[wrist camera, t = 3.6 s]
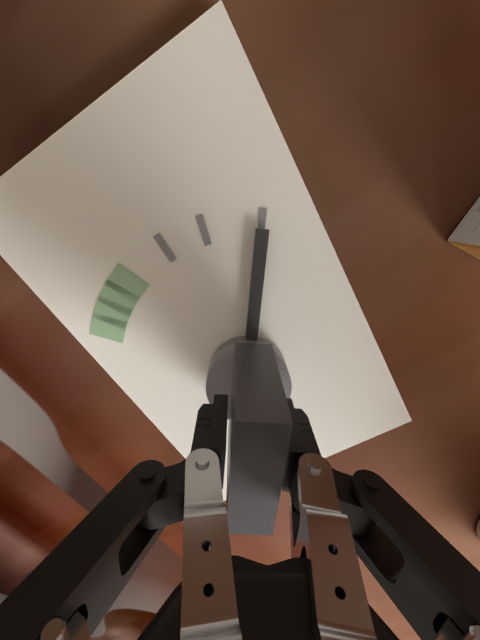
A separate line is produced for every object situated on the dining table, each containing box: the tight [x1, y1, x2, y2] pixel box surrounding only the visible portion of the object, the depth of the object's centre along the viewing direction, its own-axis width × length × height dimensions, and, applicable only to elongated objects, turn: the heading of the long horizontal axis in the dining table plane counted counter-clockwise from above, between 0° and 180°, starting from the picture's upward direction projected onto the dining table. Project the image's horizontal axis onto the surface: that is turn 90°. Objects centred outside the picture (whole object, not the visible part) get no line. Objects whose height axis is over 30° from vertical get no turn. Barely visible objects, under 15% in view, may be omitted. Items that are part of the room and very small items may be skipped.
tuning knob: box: [206, 228, 293, 535], centre depth 13 cm, size 12×5×8 cm, turn 176°
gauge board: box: [0, 0, 412, 501], centre depth 18 cm, size 26×16×2 cm, turn 31°
